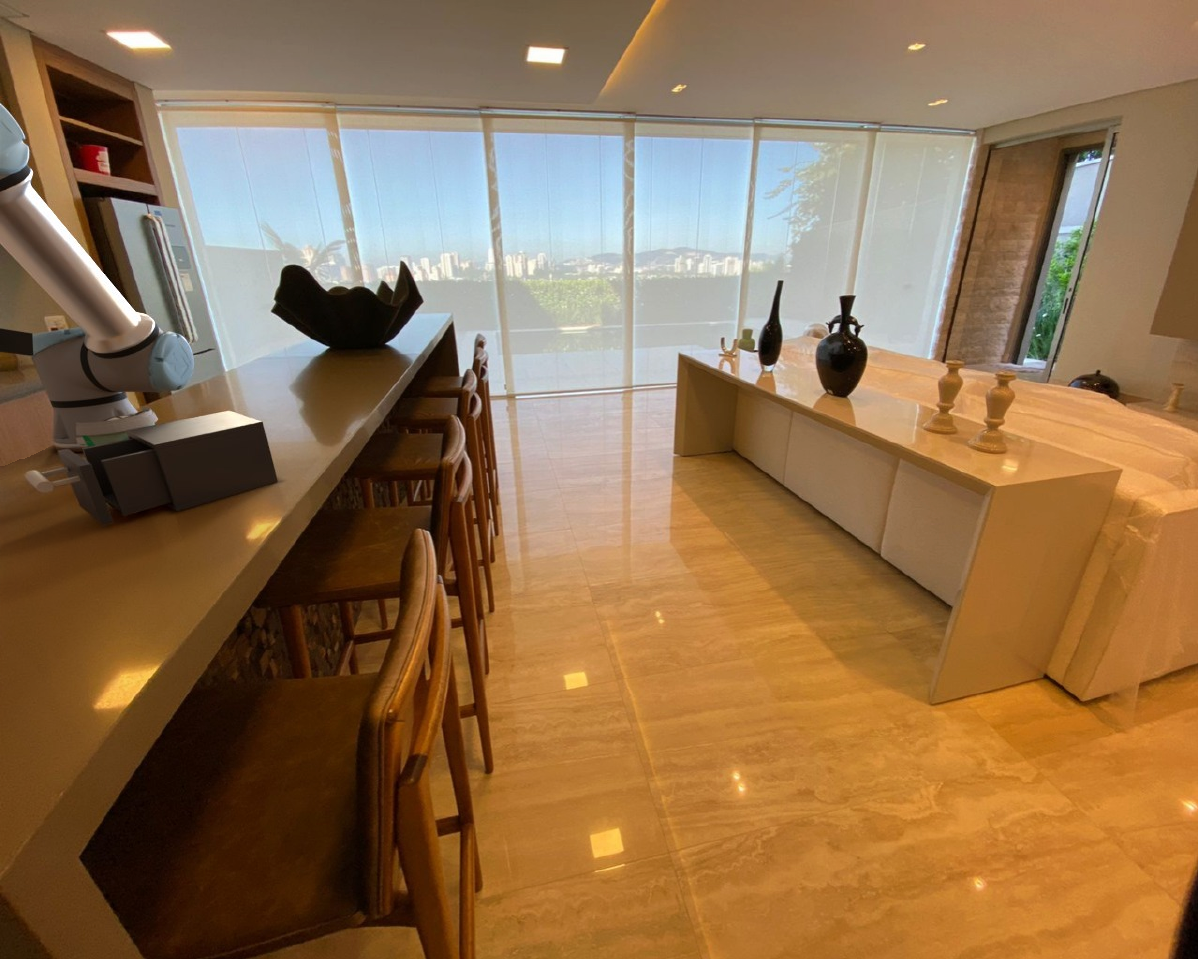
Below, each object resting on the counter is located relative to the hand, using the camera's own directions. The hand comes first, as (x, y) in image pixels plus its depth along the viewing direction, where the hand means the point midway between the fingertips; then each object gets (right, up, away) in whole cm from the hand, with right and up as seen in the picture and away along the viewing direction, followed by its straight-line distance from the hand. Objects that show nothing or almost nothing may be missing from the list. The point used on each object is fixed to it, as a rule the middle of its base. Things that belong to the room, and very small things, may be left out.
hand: (8, 350), depth 68 cm
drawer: (+6, -20, +11) cm, 24 cm away
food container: (-7, -15, +28) cm, 33 cm away
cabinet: (+12, -18, +20) cm, 29 cm away
